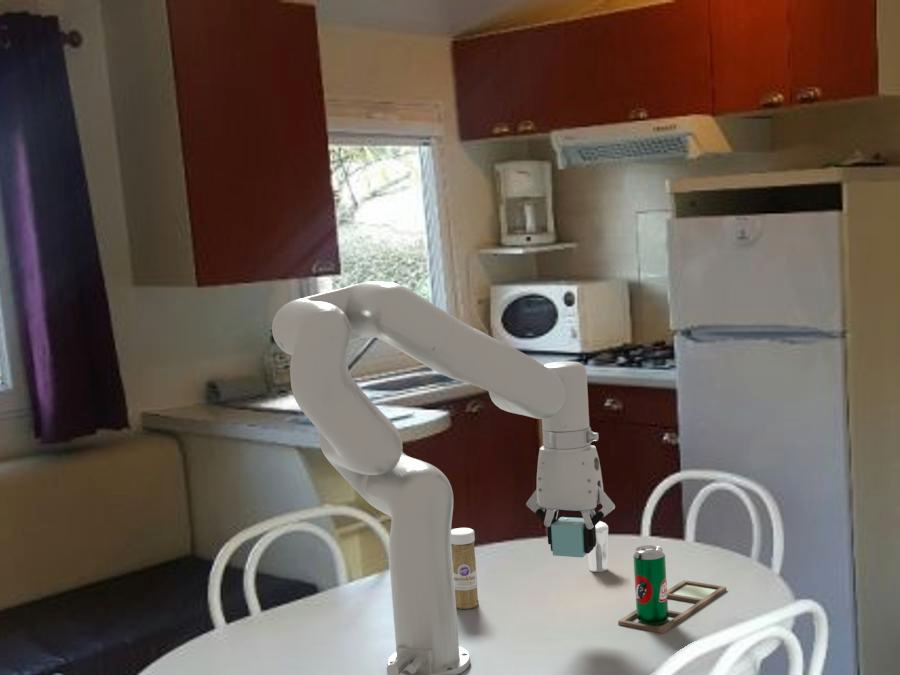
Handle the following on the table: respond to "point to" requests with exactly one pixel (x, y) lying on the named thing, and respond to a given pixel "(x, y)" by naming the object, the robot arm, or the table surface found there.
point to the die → (568, 537)
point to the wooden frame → (683, 592)
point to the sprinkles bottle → (464, 568)
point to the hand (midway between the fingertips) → (572, 548)
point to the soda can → (650, 585)
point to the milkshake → (599, 549)
